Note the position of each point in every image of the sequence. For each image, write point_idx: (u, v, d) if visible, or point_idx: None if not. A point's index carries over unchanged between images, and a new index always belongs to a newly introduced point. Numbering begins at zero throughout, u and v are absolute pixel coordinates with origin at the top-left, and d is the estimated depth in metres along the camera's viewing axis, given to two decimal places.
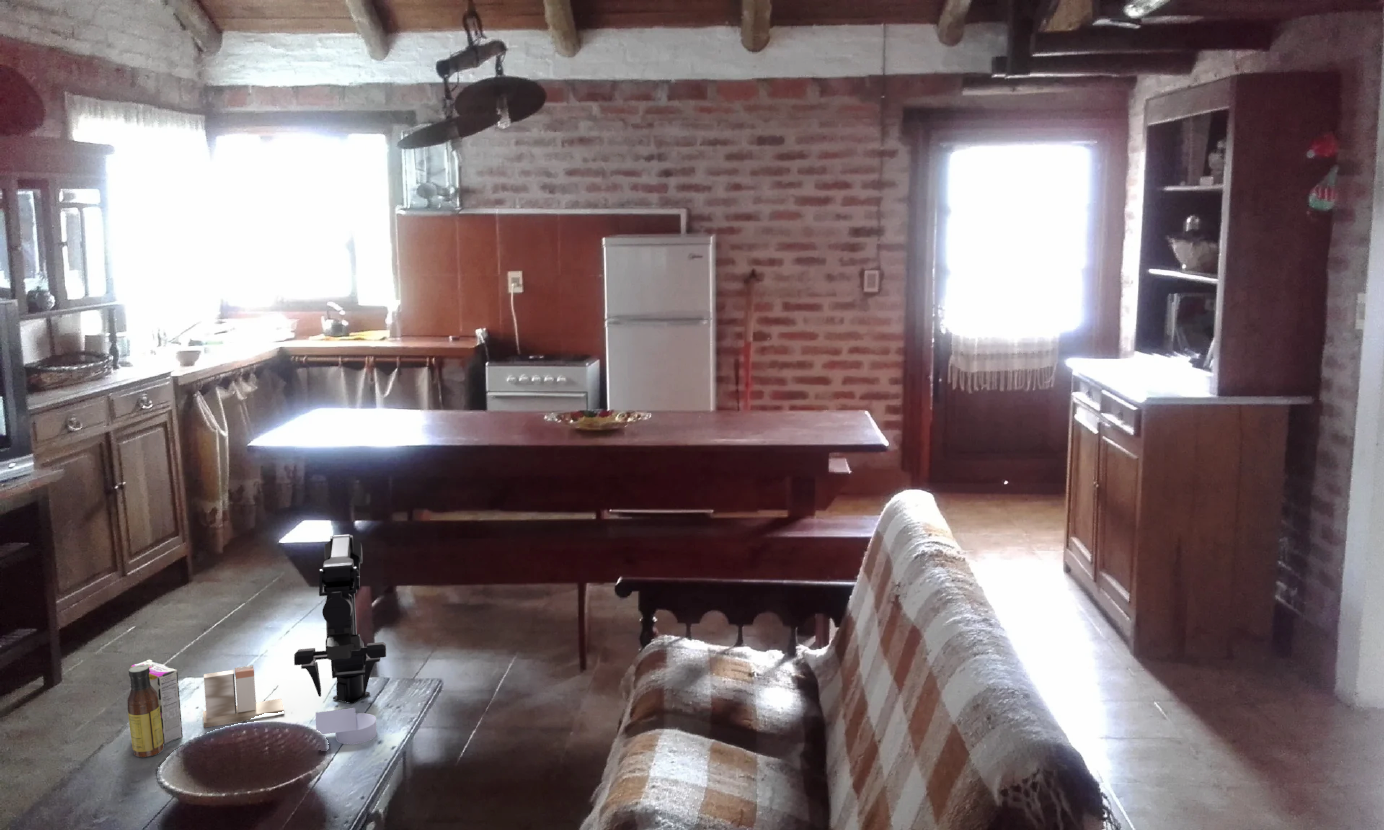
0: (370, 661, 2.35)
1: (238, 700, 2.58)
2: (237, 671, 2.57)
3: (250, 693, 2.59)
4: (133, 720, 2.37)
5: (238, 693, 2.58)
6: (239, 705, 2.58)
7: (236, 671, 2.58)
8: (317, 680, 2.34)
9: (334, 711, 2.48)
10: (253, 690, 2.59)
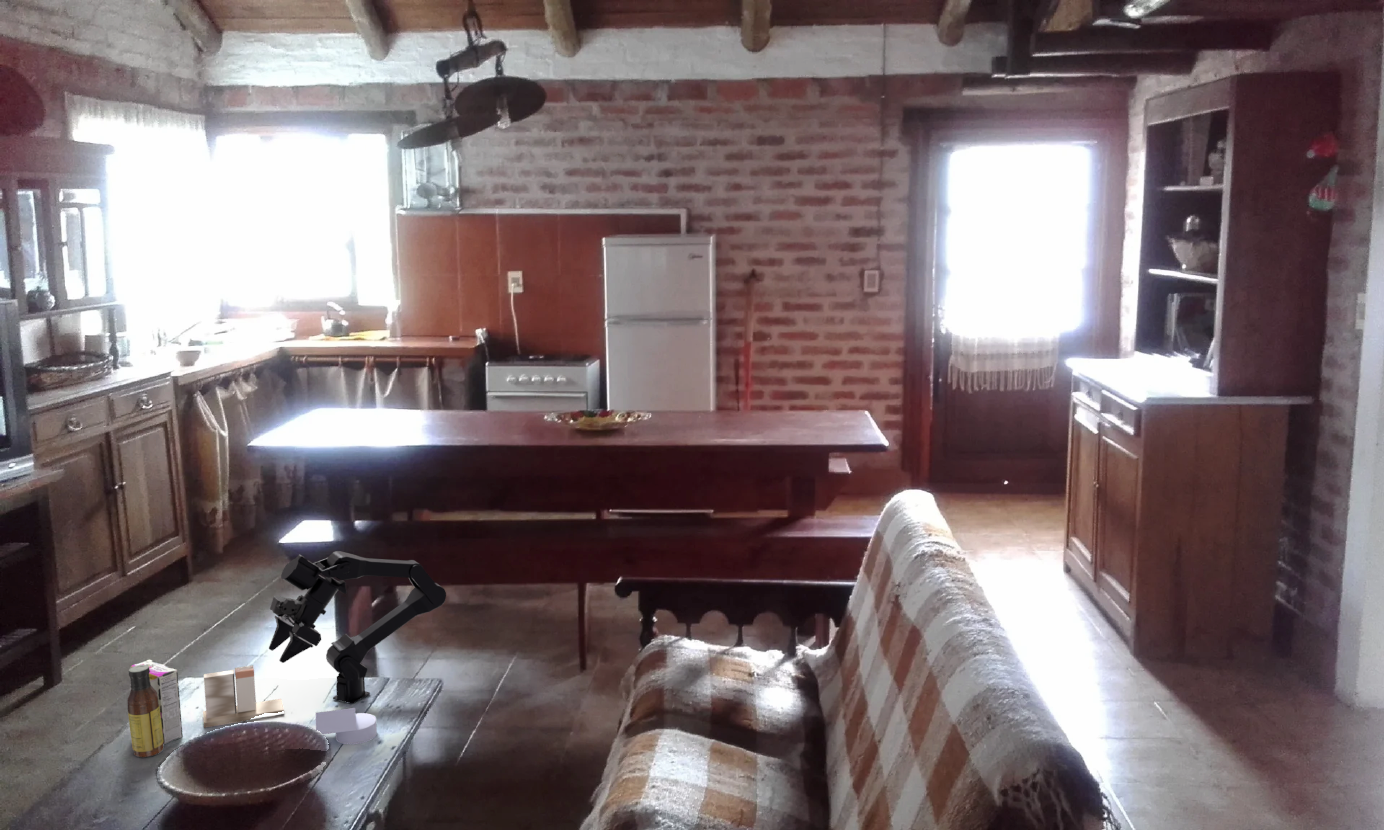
0: (290, 633, 2.54)
1: (238, 700, 2.58)
2: (237, 671, 2.57)
3: (250, 693, 2.59)
4: (133, 720, 2.37)
5: (238, 693, 2.58)
6: (239, 705, 2.58)
7: (236, 671, 2.58)
8: (275, 634, 2.63)
9: (334, 711, 2.48)
10: (253, 690, 2.59)
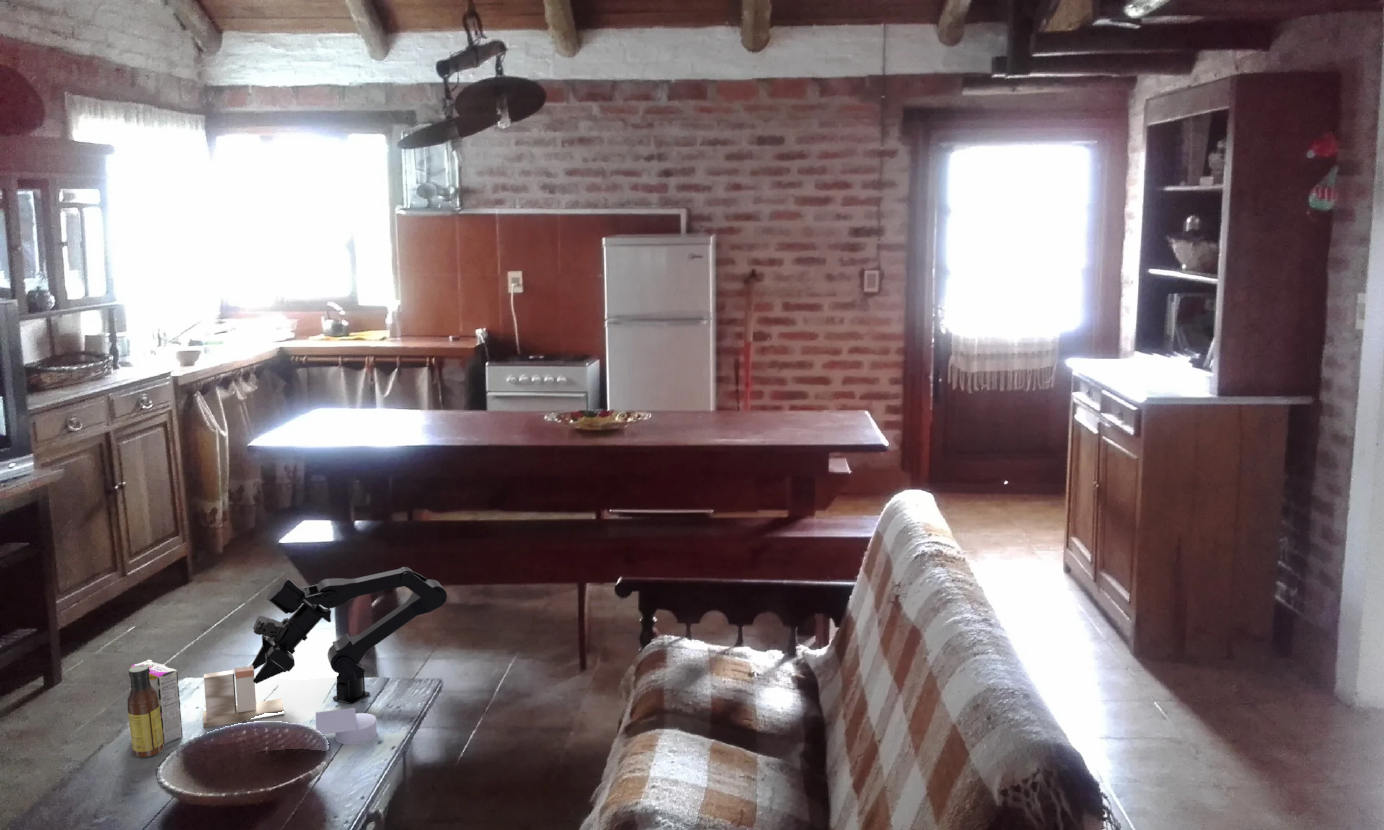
0: (265, 655, 2.55)
1: (238, 700, 2.58)
2: (237, 671, 2.57)
3: (250, 693, 2.59)
4: (133, 720, 2.37)
5: (238, 693, 2.58)
6: (239, 705, 2.58)
7: (236, 671, 2.58)
8: (258, 653, 2.65)
9: (334, 711, 2.48)
10: (253, 690, 2.59)
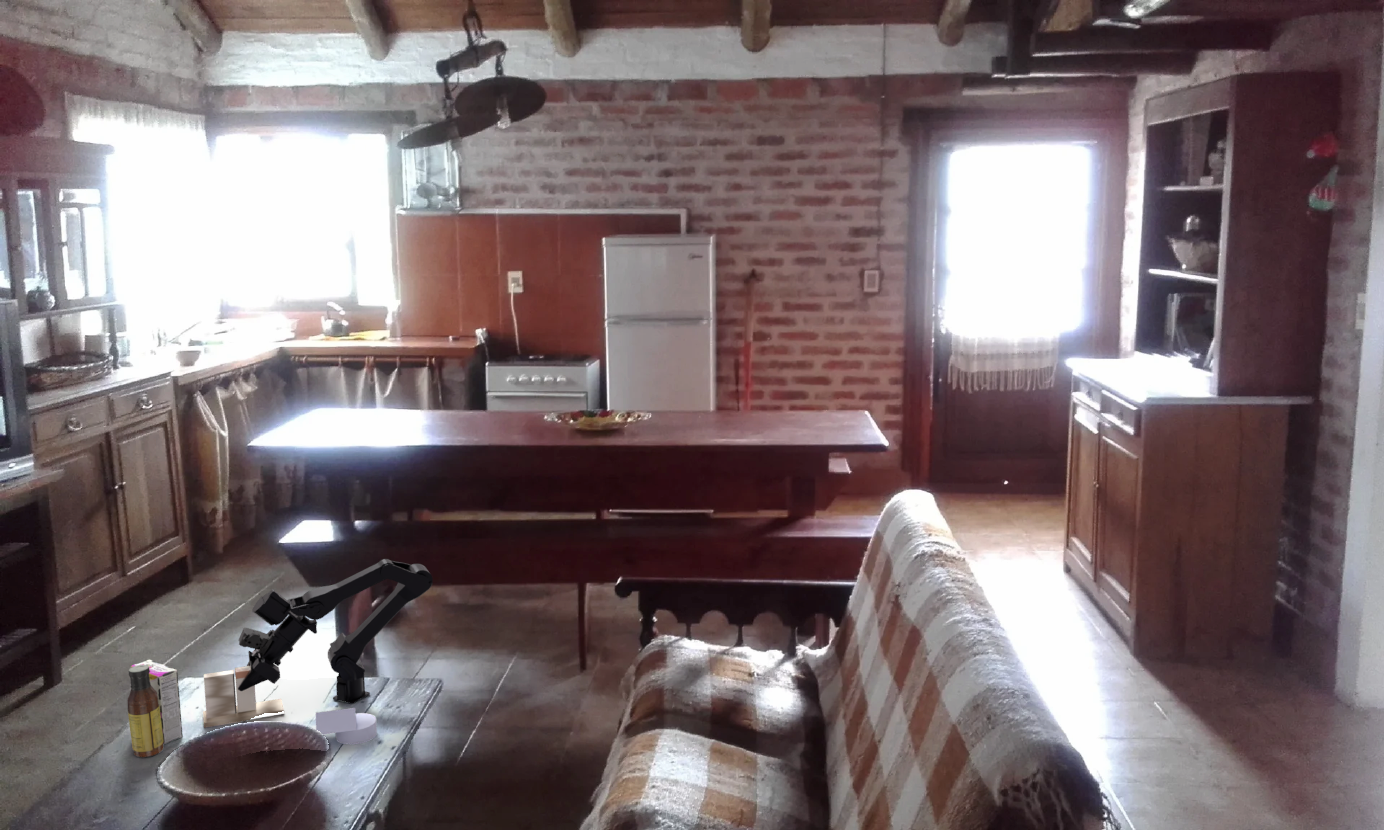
0: (250, 663, 2.57)
1: (238, 700, 2.58)
2: (237, 671, 2.57)
3: (250, 693, 2.59)
4: (133, 720, 2.37)
5: (238, 693, 2.58)
6: (239, 705, 2.58)
7: (236, 671, 2.58)
8: None
9: (334, 711, 2.48)
10: (253, 690, 2.59)
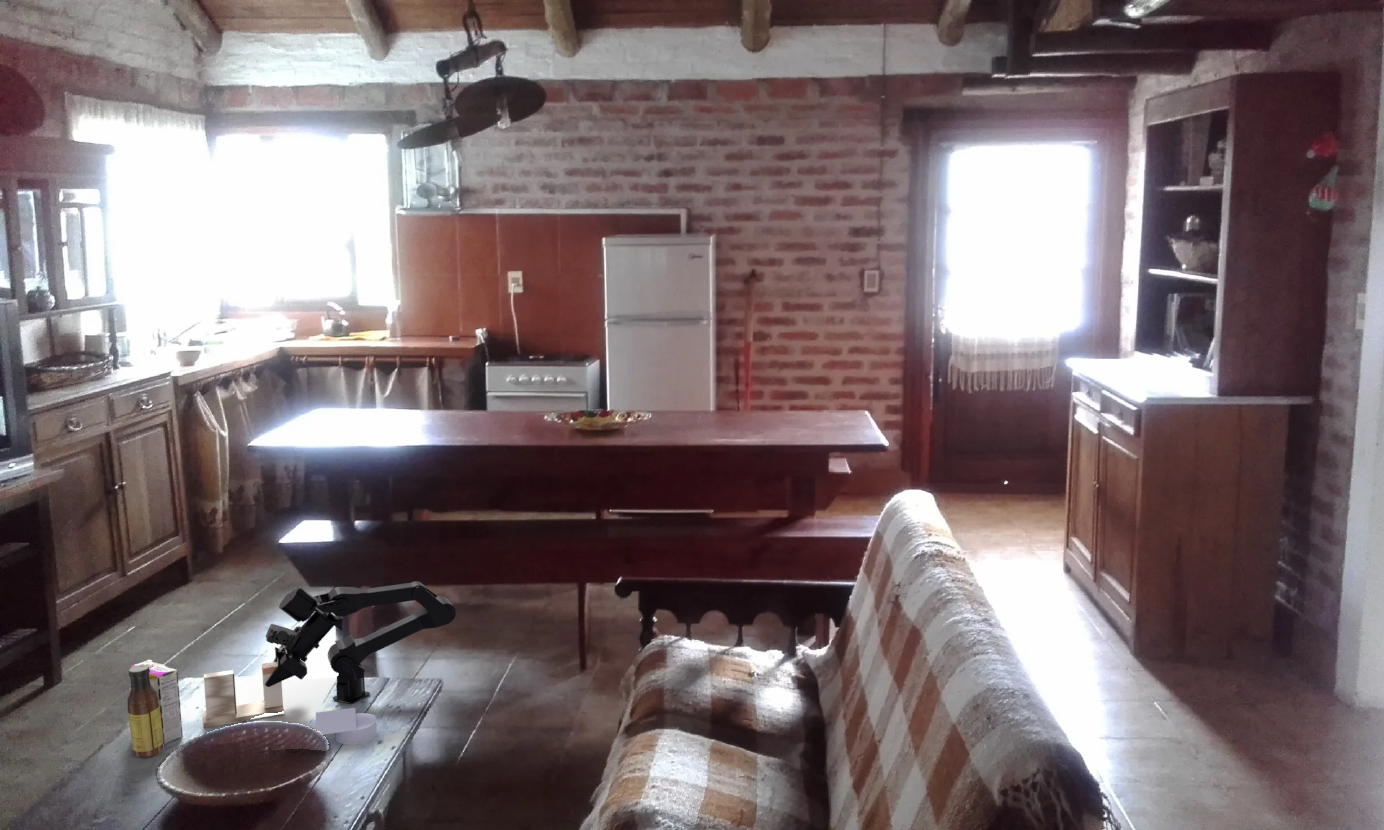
0: (277, 659, 2.59)
1: (265, 696, 2.61)
2: (264, 667, 2.60)
3: (277, 689, 2.62)
4: (133, 720, 2.37)
5: (265, 689, 2.60)
6: (266, 701, 2.61)
7: (263, 667, 2.60)
8: None
9: (334, 711, 2.48)
10: (280, 686, 2.62)
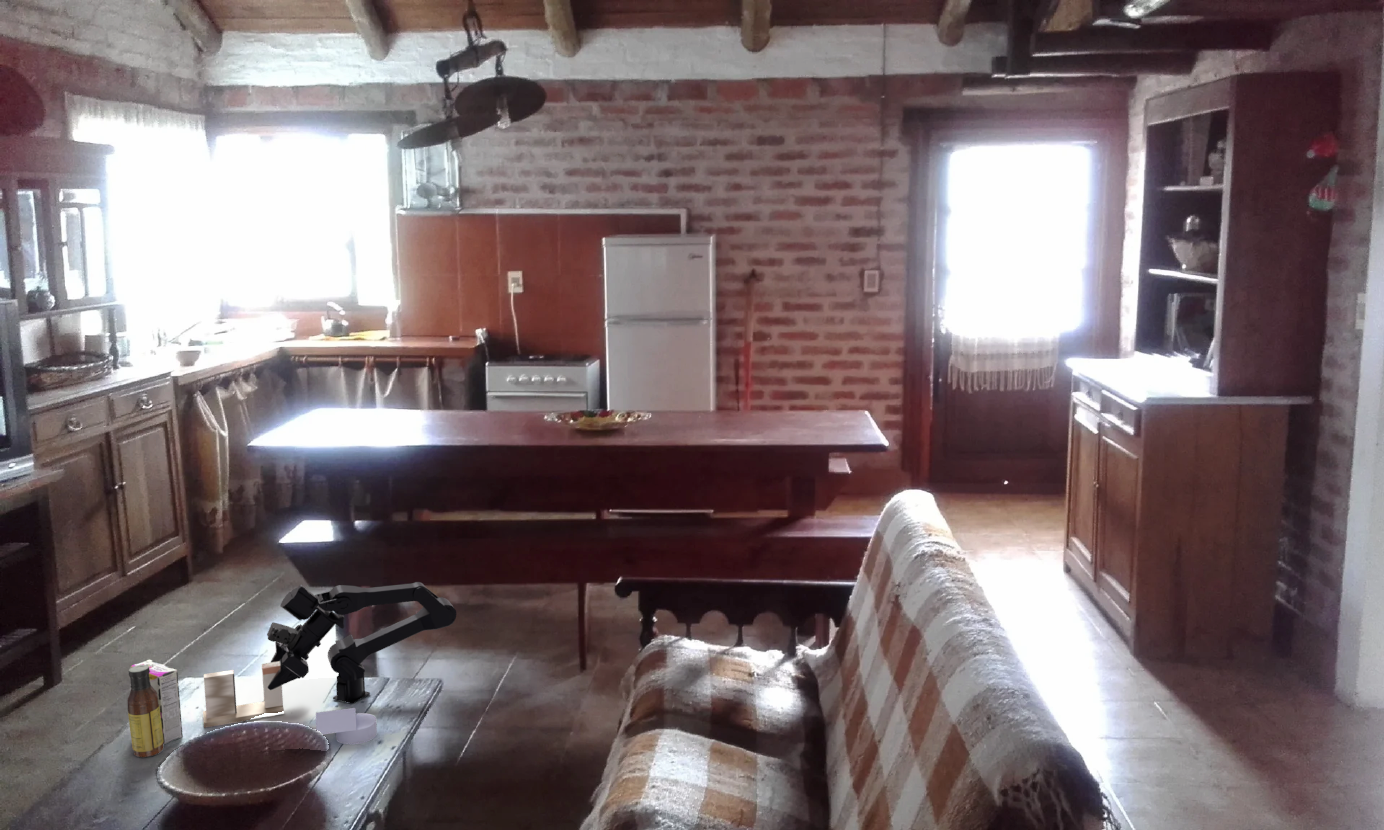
0: (280, 661, 2.56)
1: (265, 696, 2.61)
2: (264, 667, 2.60)
3: (277, 689, 2.62)
4: (133, 720, 2.37)
5: (265, 689, 2.60)
6: (266, 701, 2.61)
7: (263, 667, 2.60)
8: (272, 660, 2.66)
9: (334, 711, 2.48)
10: (280, 686, 2.62)
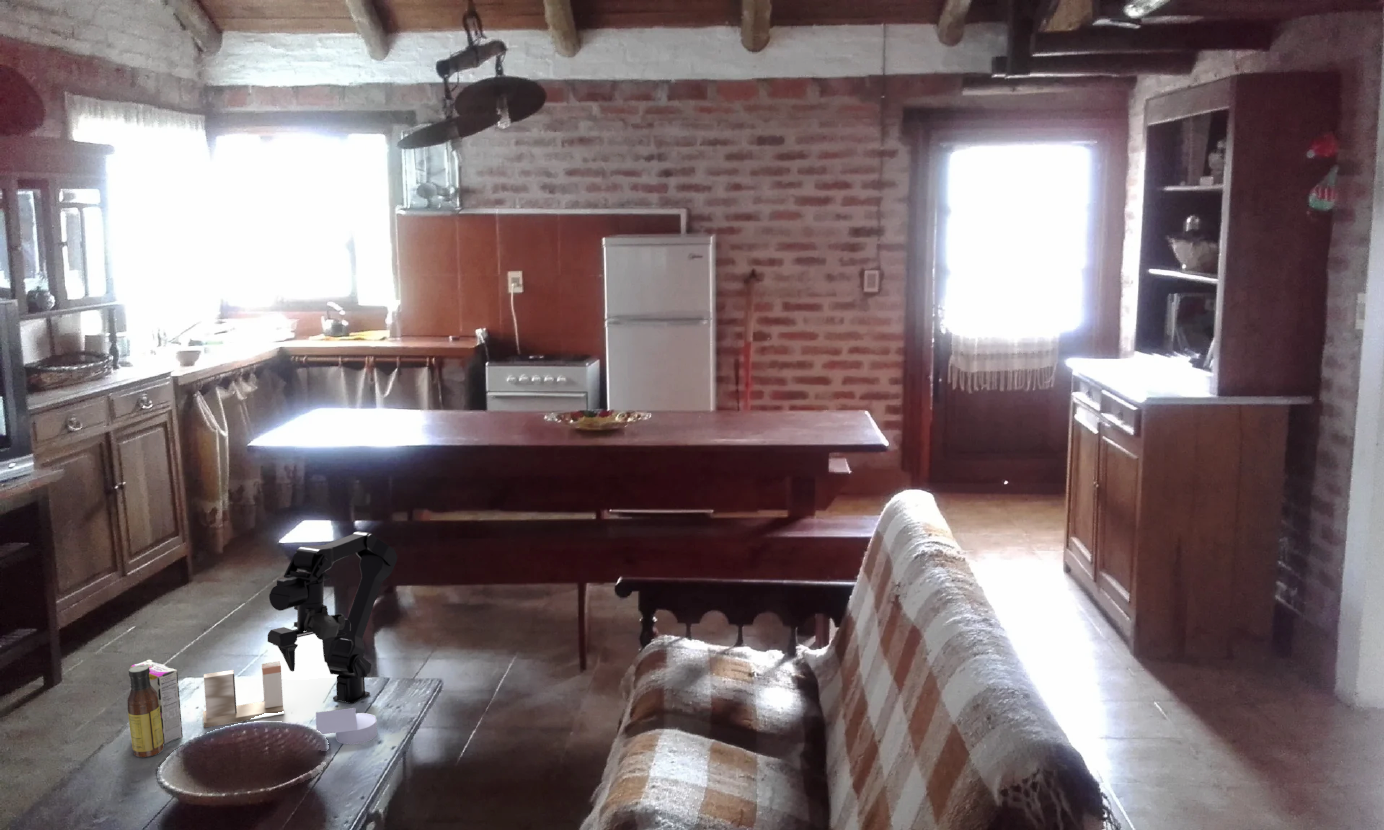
0: (339, 635, 2.59)
1: (265, 696, 2.61)
2: (264, 667, 2.60)
3: (277, 689, 2.62)
4: (133, 720, 2.37)
5: (265, 689, 2.60)
6: (266, 701, 2.61)
7: (263, 667, 2.60)
8: (294, 657, 2.51)
9: (334, 711, 2.48)
10: (280, 686, 2.62)
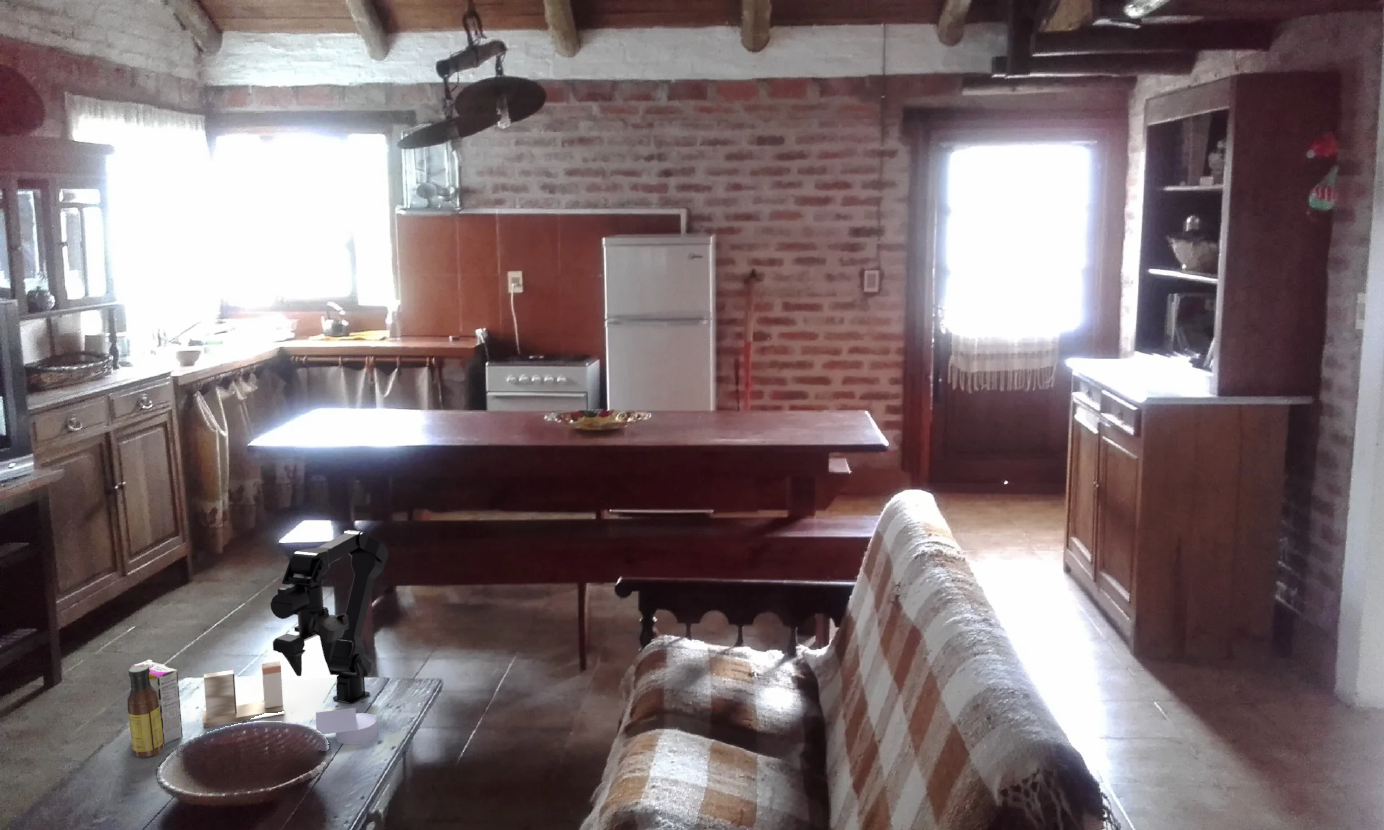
0: None
1: (265, 696, 2.61)
2: (264, 667, 2.60)
3: (277, 689, 2.62)
4: (133, 720, 2.37)
5: (265, 689, 2.60)
6: (266, 701, 2.61)
7: (263, 667, 2.60)
8: (301, 662, 2.50)
9: (334, 711, 2.48)
10: (280, 686, 2.62)
